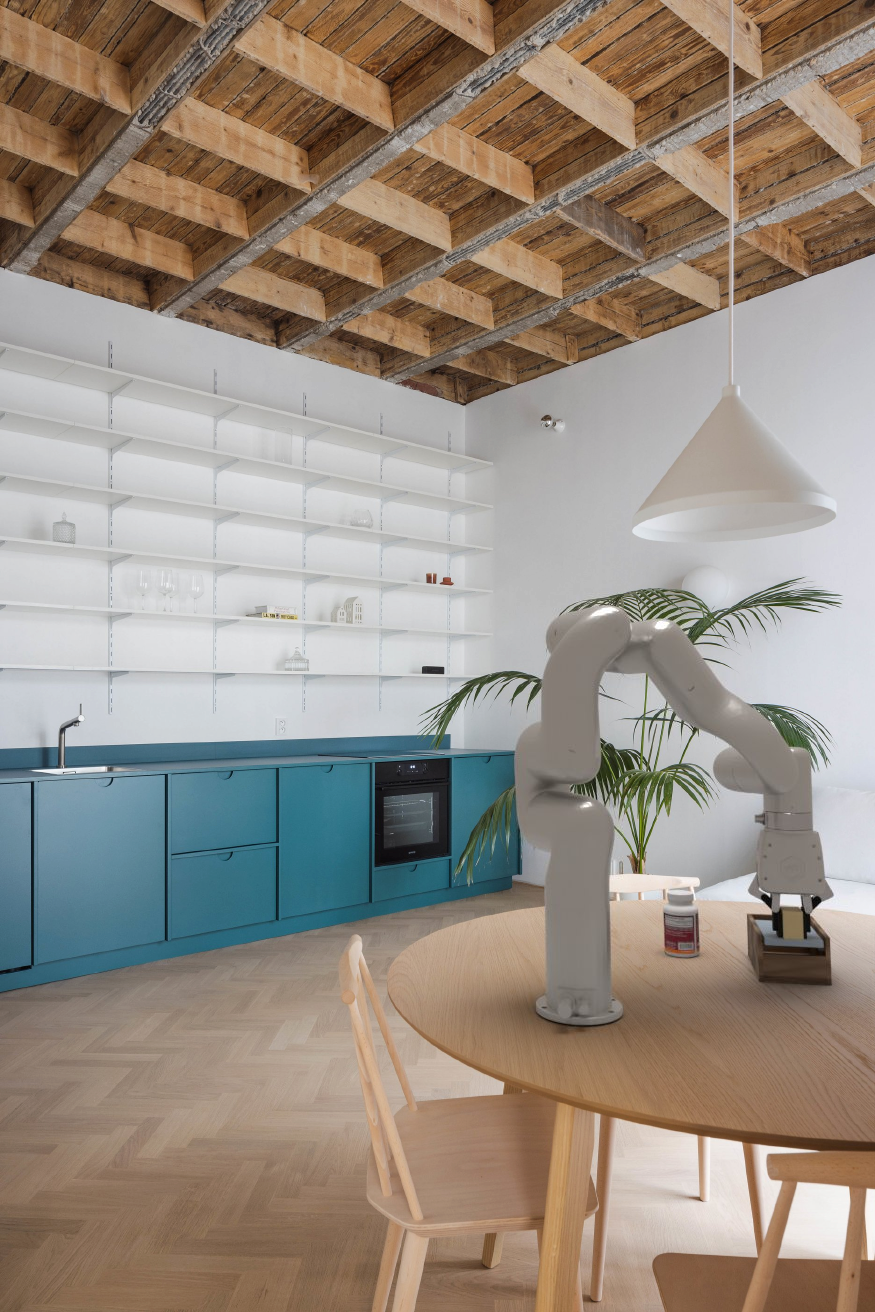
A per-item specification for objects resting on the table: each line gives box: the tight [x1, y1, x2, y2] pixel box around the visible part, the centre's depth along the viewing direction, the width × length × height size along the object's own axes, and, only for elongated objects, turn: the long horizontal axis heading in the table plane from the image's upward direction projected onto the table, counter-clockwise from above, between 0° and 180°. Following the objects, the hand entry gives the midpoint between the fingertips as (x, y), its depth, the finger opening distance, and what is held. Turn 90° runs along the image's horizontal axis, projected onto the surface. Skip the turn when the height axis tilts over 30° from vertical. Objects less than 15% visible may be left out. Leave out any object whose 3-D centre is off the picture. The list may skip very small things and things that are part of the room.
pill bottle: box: [662, 889, 701, 959], centre depth 164 cm, size 6×6×11 cm
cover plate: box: [755, 905, 824, 948], centre depth 152 cm, size 14×9×5 cm, turn 167°
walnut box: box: [746, 913, 833, 986], centre depth 153 cm, size 16×11×7 cm
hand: (791, 935), depth 147 cm, fingers closed on cover plate, 3 cm apart
